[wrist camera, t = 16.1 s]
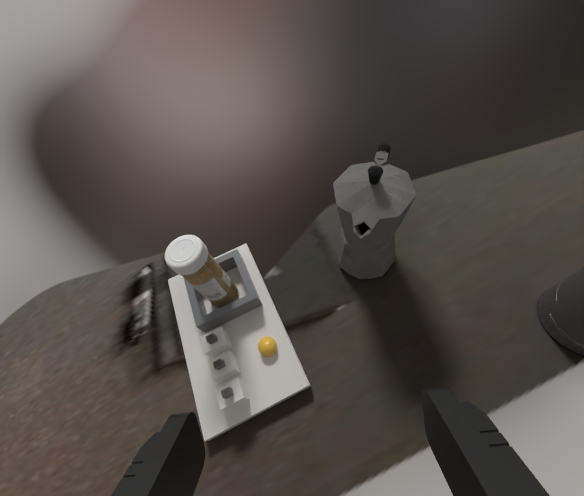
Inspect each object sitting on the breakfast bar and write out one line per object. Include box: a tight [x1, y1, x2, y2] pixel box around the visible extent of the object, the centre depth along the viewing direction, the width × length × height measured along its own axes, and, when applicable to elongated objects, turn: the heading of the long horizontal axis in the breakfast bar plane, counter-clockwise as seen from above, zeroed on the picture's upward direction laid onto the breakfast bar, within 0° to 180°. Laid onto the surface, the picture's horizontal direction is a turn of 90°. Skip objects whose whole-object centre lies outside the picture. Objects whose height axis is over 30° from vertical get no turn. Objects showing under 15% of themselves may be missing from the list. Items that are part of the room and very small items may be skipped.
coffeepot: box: [333, 143, 417, 279], centre depth 38 cm, size 15×9×18 cm, turn 160°
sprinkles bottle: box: [165, 235, 238, 308], centre depth 38 cm, size 5×5×13 cm
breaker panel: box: [168, 244, 311, 441], centre depth 40 cm, size 14×24×5 cm, turn 24°
